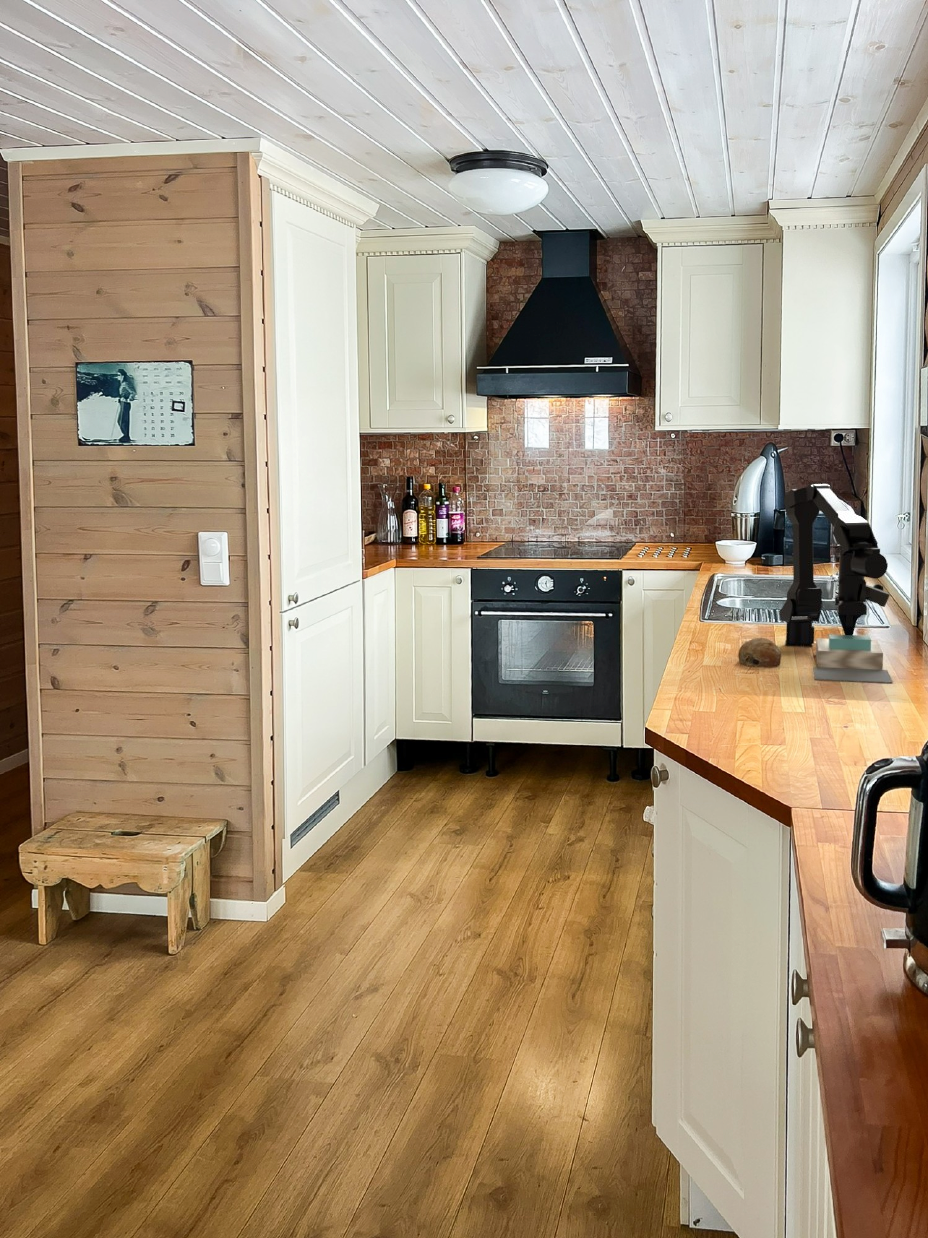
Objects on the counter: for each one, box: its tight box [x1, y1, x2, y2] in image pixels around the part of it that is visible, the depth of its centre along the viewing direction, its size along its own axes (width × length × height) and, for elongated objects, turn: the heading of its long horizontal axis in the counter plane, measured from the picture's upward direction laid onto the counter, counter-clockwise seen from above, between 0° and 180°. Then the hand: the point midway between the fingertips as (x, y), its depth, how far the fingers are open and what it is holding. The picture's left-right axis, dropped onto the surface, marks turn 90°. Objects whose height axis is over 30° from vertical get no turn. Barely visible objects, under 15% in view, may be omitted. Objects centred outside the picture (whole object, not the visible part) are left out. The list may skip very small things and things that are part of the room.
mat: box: [812, 666, 893, 684], centre depth 256 cm, size 16×14×1 cm
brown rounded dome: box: [737, 637, 782, 668], centre depth 271 cm, size 10×10×8 cm
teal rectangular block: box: [828, 634, 872, 651], centre depth 268 cm, size 9×6×2 cm, turn 75°
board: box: [815, 637, 884, 670], centre depth 272 cm, size 14×18×4 cm
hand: (849, 640), depth 272 cm, fingers closed
